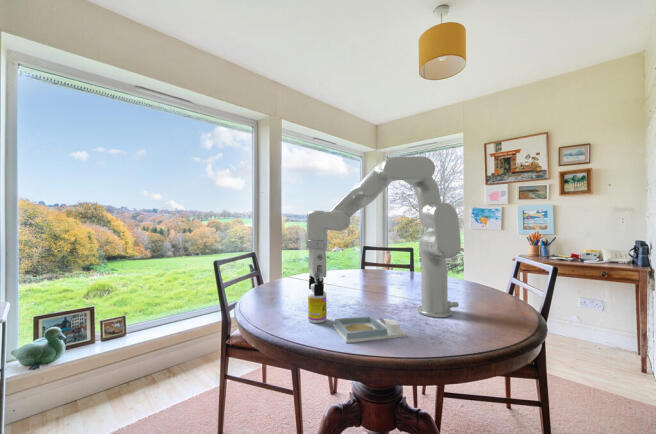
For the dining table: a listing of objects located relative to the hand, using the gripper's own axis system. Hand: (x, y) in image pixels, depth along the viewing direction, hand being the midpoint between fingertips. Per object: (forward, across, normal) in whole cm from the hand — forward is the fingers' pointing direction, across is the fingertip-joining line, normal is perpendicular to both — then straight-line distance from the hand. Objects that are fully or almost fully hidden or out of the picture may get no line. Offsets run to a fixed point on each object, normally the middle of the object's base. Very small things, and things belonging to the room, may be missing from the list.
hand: (315, 292), depth 105 cm
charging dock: (+10, -14, -15) cm, 23 cm away
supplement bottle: (+10, 0, -1) cm, 10 cm away
